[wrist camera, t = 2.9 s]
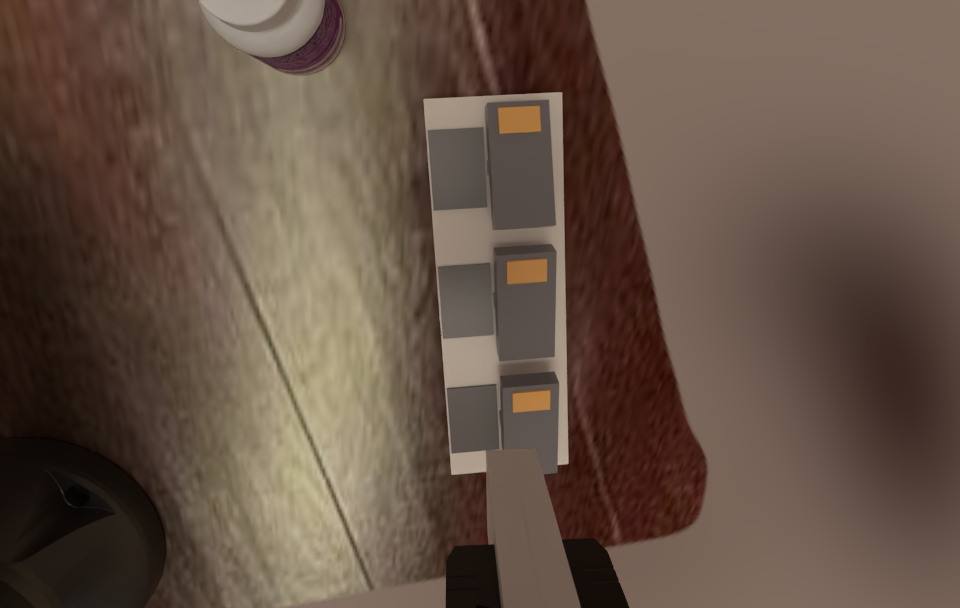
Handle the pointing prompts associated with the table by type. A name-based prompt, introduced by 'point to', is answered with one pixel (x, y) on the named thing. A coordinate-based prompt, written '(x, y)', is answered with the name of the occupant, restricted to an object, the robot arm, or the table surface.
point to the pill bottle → (281, 31)
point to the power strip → (483, 274)
